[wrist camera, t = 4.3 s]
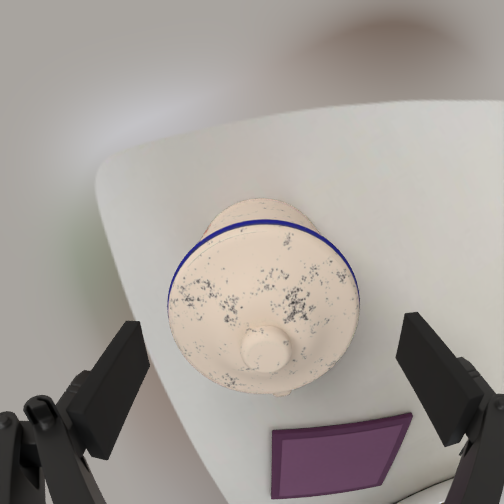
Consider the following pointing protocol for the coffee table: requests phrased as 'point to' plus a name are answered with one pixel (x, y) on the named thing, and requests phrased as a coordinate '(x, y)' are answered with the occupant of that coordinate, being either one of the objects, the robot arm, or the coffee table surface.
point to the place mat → (335, 457)
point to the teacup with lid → (263, 300)
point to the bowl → (430, 494)
